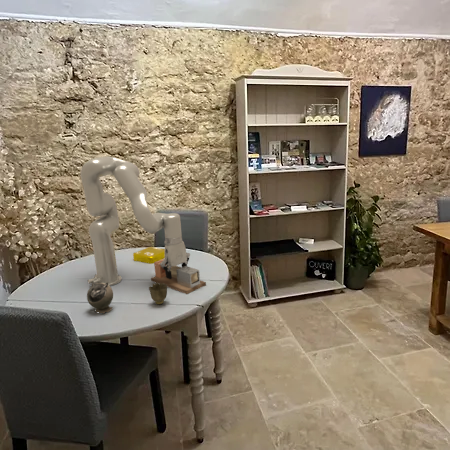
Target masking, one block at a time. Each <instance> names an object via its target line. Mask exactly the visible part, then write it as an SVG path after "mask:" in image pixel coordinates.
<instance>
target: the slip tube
mask: <svg viewBox="0 0 450 450" xmlns="http://www.w3.org/2000/svg"><path fill="white" fill-rule="evenodd" d="M168 267H169V266H168ZM179 268H182V266H179V265H177V266H174V267H171V269H170V271H171V274H172V277H174V278H177V271H176V270H177V269H179ZM165 274H166V270H165ZM195 281H198V277H197V272H196V273H194V274H192V275H191V283H193V282H195Z"/></svg>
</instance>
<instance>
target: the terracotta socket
mask: <svg viewBox="0 0 450 450" xmlns="http://www.w3.org/2000/svg"><path fill="white" fill-rule="evenodd" d="M164 259H165V258H164ZM164 259H162V260H160V261H157V262H154V263H153V264H154V274H155V276H156V277H159V278H162V277H165V276H166V274H165V270H164V269H163V268H162V267H161V265H160V263H161V262H162V261H163V260H164ZM165 266H166V264H165Z"/></svg>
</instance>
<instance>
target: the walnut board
mask: <svg viewBox="0 0 450 450" xmlns="http://www.w3.org/2000/svg"><path fill="white" fill-rule="evenodd" d="M150 281H151V282H152V283H154V284H156V283H158V284H160V283H161V284H162V283H165V284H167V288H169V289H171V290H174V291H177V292H180V293H182V294H185V295H189V294H190V293H192V292H194V291H197V290H199V289H201V288H203V287H205V286H207V282H206V281H203V280H201V279H200V285H197V286H195V287H193V288H188V287H185V286H183V285H180V284H178V282H177V278H174V277H172V279H168V278H167V277H166V276H165V277H162V278H159V277H156V275H155V276H152V277H151V278H150Z"/></svg>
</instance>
